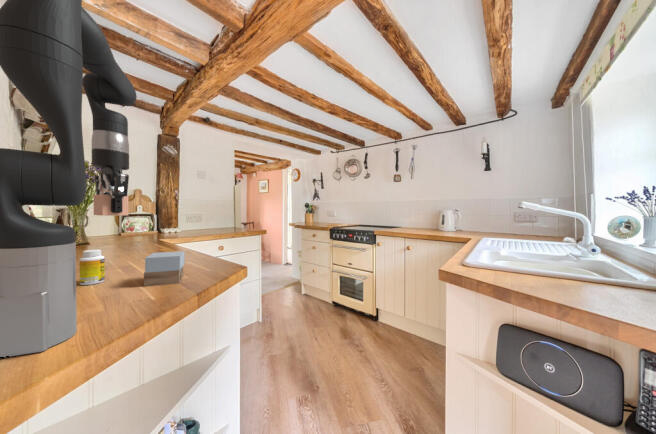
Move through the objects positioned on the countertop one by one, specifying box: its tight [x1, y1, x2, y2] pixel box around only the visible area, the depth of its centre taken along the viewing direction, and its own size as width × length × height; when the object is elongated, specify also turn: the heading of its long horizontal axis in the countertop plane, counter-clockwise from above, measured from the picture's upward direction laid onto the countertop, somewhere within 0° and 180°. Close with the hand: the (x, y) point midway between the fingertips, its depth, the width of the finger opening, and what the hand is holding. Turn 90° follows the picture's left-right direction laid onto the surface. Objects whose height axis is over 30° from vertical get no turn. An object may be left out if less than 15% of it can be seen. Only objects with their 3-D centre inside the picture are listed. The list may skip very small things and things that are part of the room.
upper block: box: [144, 250, 186, 273], centre depth 76 cm, size 9×9×4 cm
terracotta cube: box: [93, 194, 129, 217], centre depth 64 cm, size 6×6×6 cm
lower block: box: [143, 266, 184, 288], centre depth 76 cm, size 9×9×4 cm
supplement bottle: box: [78, 249, 106, 286], centre depth 72 cm, size 6×6×10 cm
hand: (111, 212), depth 64 cm, fingers closed on terracotta cube, 5 cm apart
